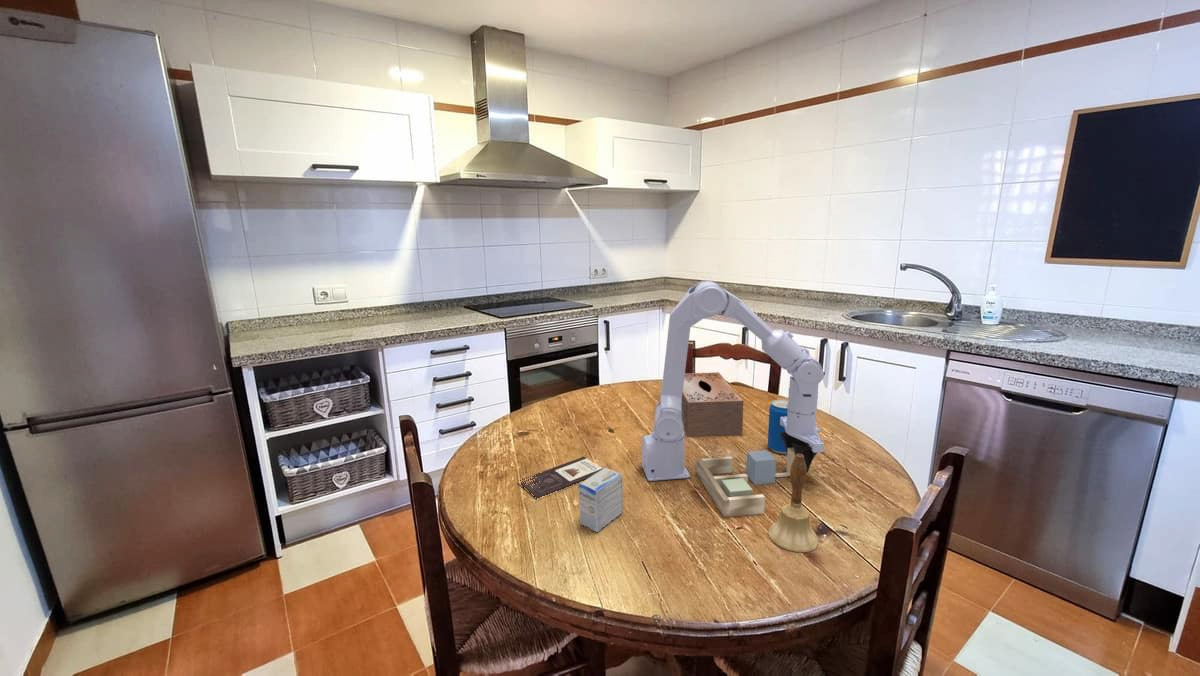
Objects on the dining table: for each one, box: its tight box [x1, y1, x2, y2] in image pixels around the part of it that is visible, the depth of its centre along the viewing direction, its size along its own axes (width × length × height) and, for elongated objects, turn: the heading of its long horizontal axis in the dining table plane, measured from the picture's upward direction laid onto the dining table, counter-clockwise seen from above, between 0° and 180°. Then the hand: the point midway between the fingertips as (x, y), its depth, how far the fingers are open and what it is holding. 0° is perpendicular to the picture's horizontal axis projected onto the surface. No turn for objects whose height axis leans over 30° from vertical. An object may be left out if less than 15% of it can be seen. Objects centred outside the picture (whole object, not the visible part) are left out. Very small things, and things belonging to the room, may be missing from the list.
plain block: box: [722, 478, 753, 497], centre depth 94 cm, size 4×4×4 cm
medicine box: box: [578, 467, 624, 533], centre depth 89 cm, size 8×4×9 cm, turn 141°
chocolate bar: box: [519, 456, 604, 498], centre depth 106 cm, size 9×1×18 cm
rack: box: [696, 456, 766, 518], centre depth 98 cm, size 8×17×4 cm, turn 6°
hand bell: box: [767, 453, 820, 554], centre depth 81 cm, size 8×8×16 cm
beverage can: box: [767, 399, 788, 455], centre depth 115 cm, size 6×6×12 cm
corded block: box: [745, 448, 795, 486], centre depth 103 cm, size 12×4×6 cm, turn 96°
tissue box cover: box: [681, 371, 744, 438], centre depth 136 cm, size 26×14×10 cm, turn 0°
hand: (798, 468), depth 103 cm, fingers closed on corded block, 3 cm apart
